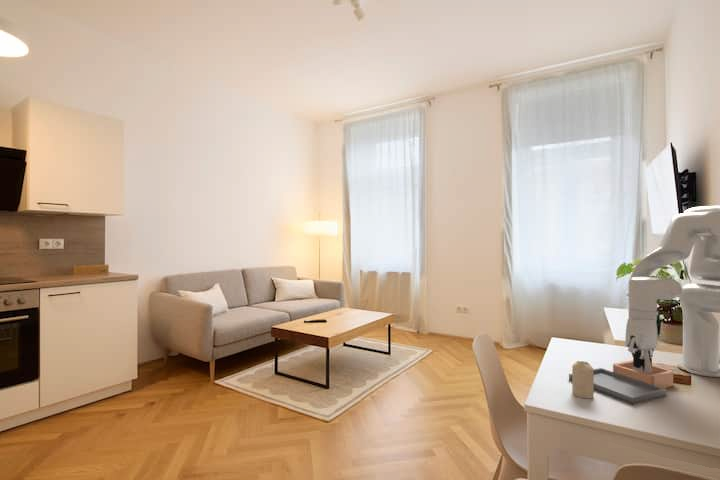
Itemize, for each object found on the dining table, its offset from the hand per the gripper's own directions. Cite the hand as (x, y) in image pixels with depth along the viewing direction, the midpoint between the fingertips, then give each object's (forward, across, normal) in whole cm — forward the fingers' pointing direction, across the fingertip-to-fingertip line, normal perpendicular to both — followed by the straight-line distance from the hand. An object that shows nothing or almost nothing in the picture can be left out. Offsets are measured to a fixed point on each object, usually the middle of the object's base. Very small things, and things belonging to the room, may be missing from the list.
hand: (642, 368), depth 121 cm
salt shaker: (+4, 0, 0) cm, 4 cm away
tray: (+4, +14, 0) cm, 15 cm away
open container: (+4, 0, 0) cm, 4 cm away
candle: (+4, +29, 0) cm, 29 cm away
